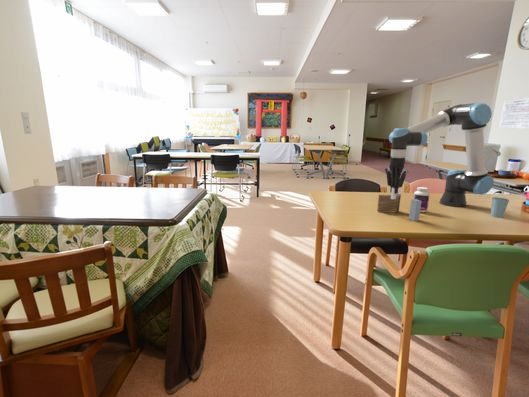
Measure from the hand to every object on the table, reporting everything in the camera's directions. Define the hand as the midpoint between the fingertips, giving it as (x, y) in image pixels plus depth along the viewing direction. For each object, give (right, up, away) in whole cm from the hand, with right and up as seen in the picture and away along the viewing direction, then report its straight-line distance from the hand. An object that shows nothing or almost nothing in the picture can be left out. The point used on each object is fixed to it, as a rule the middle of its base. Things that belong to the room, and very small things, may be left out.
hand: (393, 198), depth 166 cm
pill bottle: (+21, -8, +11) cm, 25 cm away
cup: (+62, -10, +4) cm, 63 cm away
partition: (+7, -10, +2) cm, 12 cm away
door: (0, -7, +8) cm, 11 cm away
